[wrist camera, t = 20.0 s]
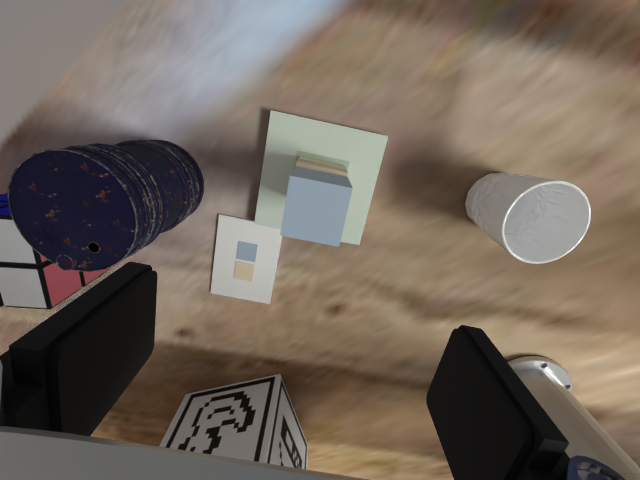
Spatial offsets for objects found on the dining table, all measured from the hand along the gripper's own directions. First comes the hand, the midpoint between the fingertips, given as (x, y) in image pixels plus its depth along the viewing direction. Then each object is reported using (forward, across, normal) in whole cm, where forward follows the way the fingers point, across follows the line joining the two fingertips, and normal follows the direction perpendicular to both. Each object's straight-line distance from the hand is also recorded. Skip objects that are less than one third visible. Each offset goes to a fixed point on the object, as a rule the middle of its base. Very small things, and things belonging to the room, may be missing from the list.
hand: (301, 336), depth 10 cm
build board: (+30, 0, 0) cm, 30 cm away
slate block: (+23, 0, 0) cm, 23 cm away
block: (+31, +3, +39) cm, 50 cm away
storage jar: (+31, +18, +4) cm, 36 cm away
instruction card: (+30, +7, +12) cm, 33 cm away
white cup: (+31, -21, -2) cm, 37 cm away
